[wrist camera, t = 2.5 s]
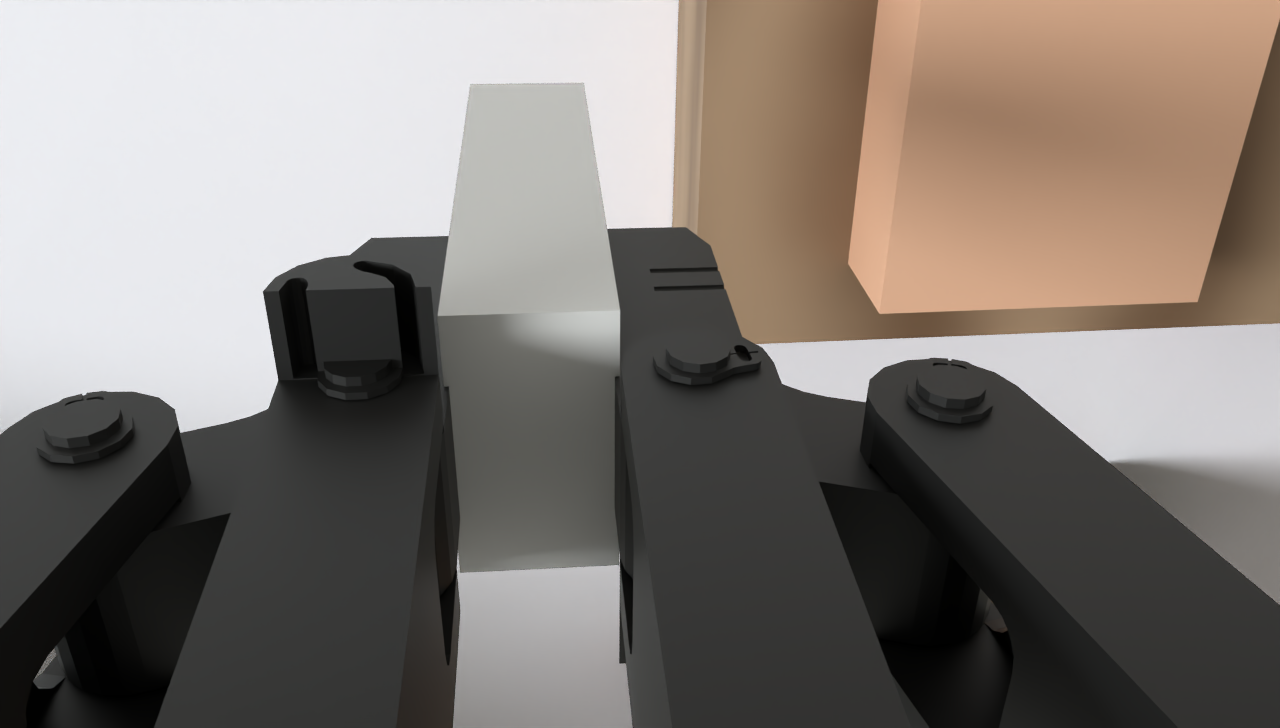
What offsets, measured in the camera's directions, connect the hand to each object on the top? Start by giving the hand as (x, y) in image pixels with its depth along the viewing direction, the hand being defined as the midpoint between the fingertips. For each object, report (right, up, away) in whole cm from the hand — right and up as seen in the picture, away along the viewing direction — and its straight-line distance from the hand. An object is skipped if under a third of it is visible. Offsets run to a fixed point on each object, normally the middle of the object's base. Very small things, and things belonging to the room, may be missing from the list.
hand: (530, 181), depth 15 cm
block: (+10, +4, +8) cm, 13 cm away
